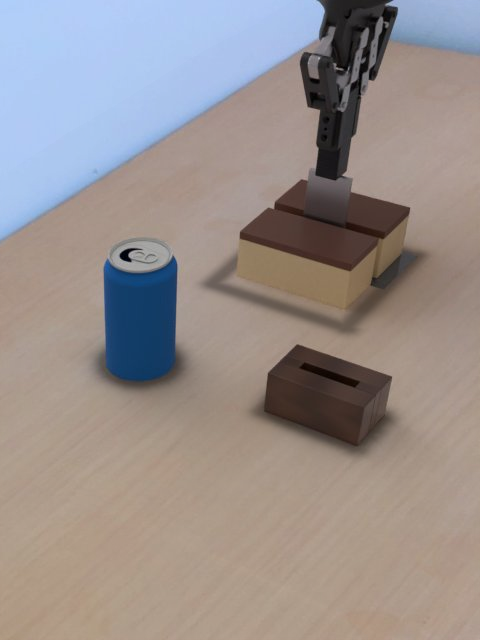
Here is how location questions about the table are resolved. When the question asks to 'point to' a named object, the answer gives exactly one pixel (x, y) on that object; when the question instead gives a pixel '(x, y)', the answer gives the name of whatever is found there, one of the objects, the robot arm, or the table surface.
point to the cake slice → (306, 257)
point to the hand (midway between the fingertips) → (335, 141)
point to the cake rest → (362, 221)
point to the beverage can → (140, 308)
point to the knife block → (327, 394)
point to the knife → (332, 176)
